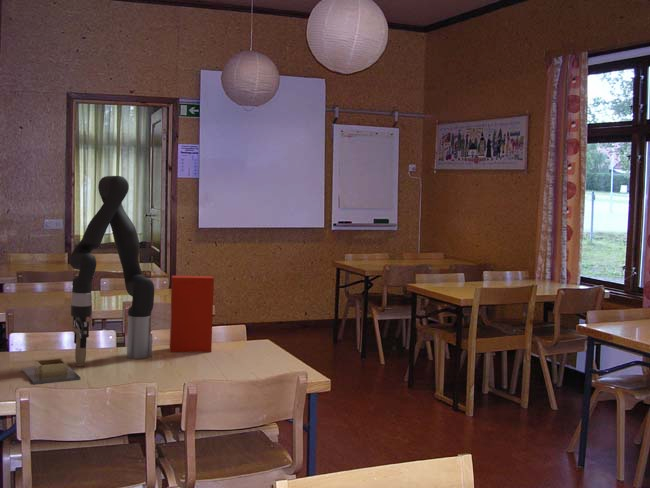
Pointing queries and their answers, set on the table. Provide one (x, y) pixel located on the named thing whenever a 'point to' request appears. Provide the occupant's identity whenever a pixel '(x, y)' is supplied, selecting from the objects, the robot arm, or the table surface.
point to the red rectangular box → (191, 313)
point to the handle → (79, 349)
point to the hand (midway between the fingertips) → (80, 345)
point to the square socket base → (50, 371)
